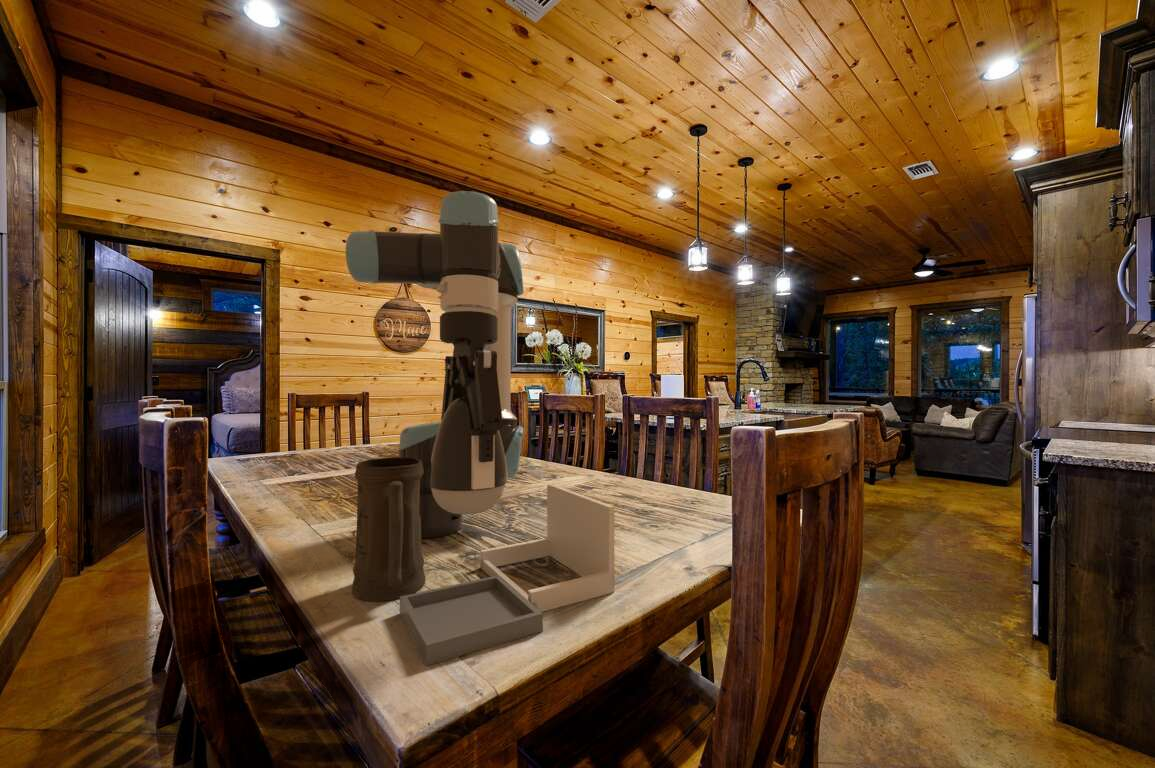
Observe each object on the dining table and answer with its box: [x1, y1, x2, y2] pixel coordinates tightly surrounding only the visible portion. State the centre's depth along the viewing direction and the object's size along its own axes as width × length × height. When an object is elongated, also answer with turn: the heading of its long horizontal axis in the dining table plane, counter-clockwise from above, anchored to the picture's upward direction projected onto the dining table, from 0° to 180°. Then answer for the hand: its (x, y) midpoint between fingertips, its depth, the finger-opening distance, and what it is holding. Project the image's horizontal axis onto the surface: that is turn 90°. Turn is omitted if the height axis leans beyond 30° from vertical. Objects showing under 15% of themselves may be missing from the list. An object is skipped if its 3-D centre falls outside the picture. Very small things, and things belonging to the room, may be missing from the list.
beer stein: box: [351, 456, 427, 602], centre depth 73 cm, size 15×11×20 cm
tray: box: [399, 575, 544, 667], centre depth 64 cm, size 15×15×2 cm
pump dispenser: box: [428, 395, 508, 515], centre depth 64 cm, size 10×10×15 cm
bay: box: [479, 483, 615, 613], centre depth 78 cm, size 20×14×13 cm
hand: (468, 480), depth 64 cm, fingers closed on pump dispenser, 10 cm apart
